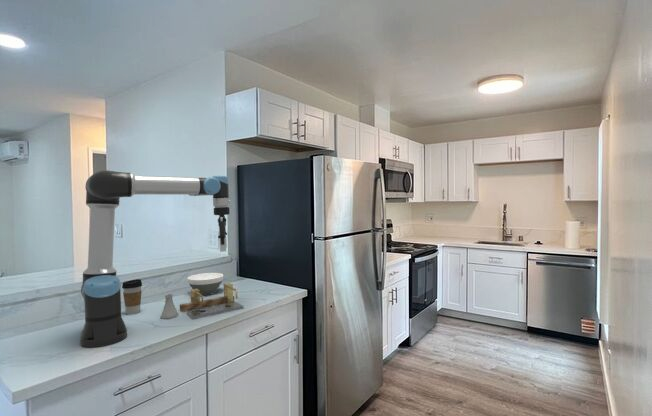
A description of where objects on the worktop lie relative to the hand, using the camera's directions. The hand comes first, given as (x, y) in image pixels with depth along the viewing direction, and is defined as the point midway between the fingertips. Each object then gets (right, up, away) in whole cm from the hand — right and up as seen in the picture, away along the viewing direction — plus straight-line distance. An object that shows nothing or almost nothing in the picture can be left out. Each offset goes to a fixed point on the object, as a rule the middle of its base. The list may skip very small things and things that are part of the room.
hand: (223, 249), depth 176 cm
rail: (-5, -28, -4) cm, 29 cm away
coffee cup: (-41, -29, -8) cm, 51 cm away
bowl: (-18, -28, +26) cm, 42 cm away
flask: (-20, -29, -16) cm, 38 cm away
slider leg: (+4, -27, +2) cm, 27 cm away
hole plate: (-1, -28, -10) cm, 30 cm away
